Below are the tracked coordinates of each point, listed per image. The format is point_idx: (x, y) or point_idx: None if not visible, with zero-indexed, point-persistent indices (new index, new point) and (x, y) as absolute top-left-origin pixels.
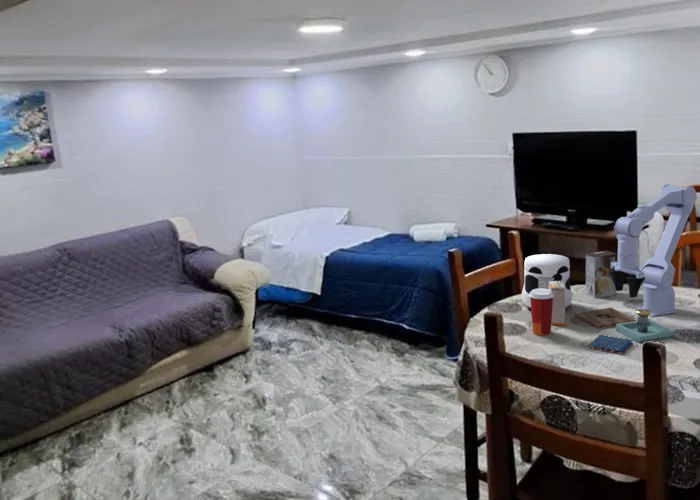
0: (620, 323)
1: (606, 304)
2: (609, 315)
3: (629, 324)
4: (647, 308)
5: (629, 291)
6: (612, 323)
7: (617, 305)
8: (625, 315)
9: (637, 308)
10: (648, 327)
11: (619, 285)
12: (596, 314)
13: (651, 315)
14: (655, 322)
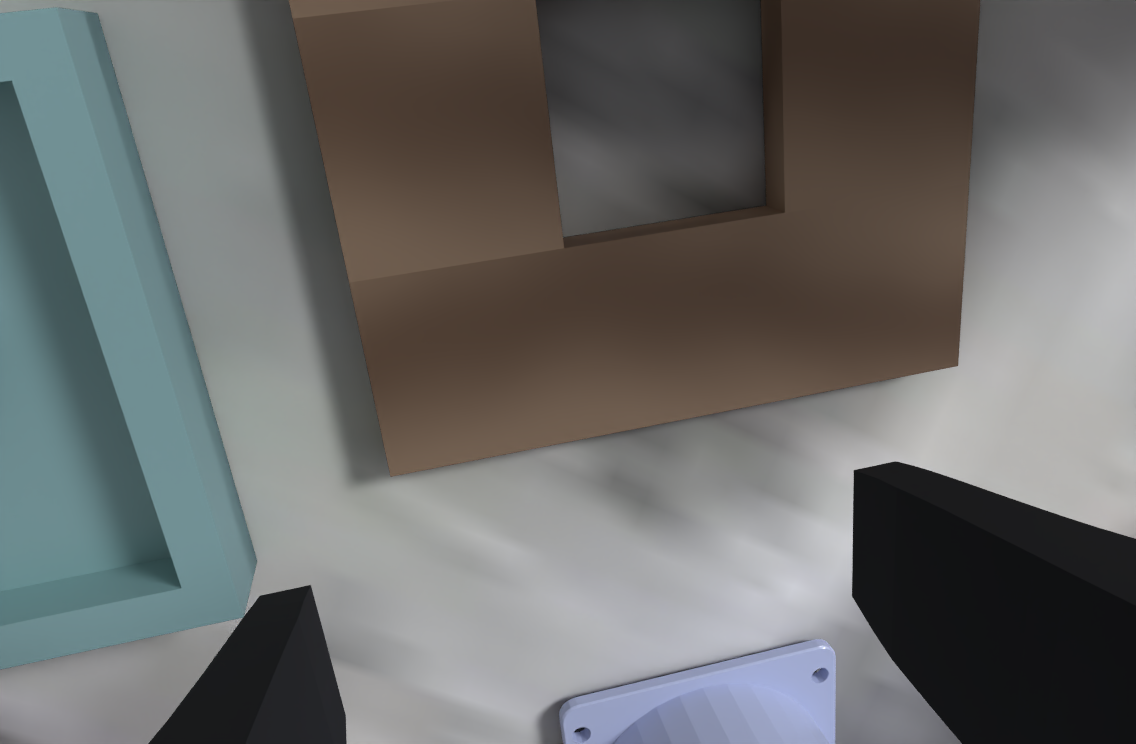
0: (83, 111)
1: (1128, 389)
2: (720, 218)
3: (81, 265)
4: (687, 734)
5: (265, 676)
6: (307, 60)
7: (1040, 492)
8: (610, 413)
9: (825, 646)
10: (58, 511)
11: (943, 614)
12: (793, 22)
13: (569, 703)
14: (65, 645)
